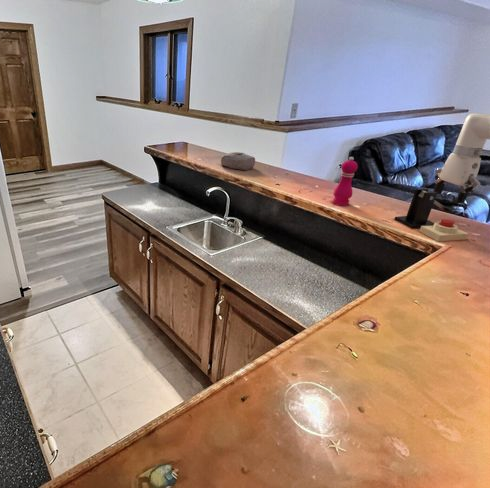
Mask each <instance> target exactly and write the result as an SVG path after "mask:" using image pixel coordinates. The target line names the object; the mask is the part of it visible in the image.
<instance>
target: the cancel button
mask: <svg viewBox="0 0 490 488" xmlns="http://www.w3.org/2000/svg"><path fill="white" fill-rule="evenodd" d="M440 221H441V222H440V225H441V226H444V227H450V228H451V227H453V225H455V222H454V221H453V220H452V219H451V220H450V219H445V218H443V219H441V220H440Z"/></svg>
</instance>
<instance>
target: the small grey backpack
mask: <svg viewBox="0 0 490 488" xmlns="http://www.w3.org/2000/svg"><path fill="white" fill-rule="evenodd" d="M219 159H220V165H221V166H224V167H226V168H229V169H233V170H242V171H250V170H252V169H253V168H254V166H255V165H256V157H254V156H252V155H250V154H246V153H245V152H238V151H235V152H226V153H224V154H223V155H221V157H220V158H219Z"/></svg>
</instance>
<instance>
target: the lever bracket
mask: <svg viewBox="0 0 490 488" xmlns="http://www.w3.org/2000/svg"><path fill="white" fill-rule="evenodd" d="M422 190H424V191H426V192H425V193H424V195H423V198H420V197H419V196H418V195H419V194H420V192H421V191H422ZM437 195H438V194H437V192H433V191H429V188H415V190H414V192H413V195H412V198H411V201H410V205H409V207H408V210H407V213H406V215H402V216H401V215H399V216H394V219H393V220H395V221H396V222H399V223H400V224H402V225H404V226H406V227H408V228H410V229H412V230H416V229H420V228H421V226H431V225H434V223H435V222H433V221H432V220H429V217H430V215H431V212H432V209H433V207H434V205H435V204H434V201H435V200H436V198H437Z"/></svg>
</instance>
